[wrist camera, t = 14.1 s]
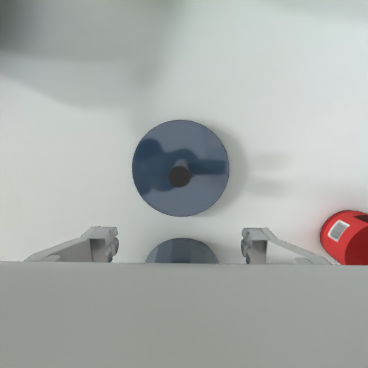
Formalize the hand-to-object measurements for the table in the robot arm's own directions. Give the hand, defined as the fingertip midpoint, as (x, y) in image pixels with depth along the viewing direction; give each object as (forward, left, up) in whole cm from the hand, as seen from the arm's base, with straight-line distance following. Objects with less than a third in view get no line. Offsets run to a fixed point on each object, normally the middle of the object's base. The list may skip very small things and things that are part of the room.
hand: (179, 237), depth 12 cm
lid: (0, +2, -15) cm, 15 cm away
